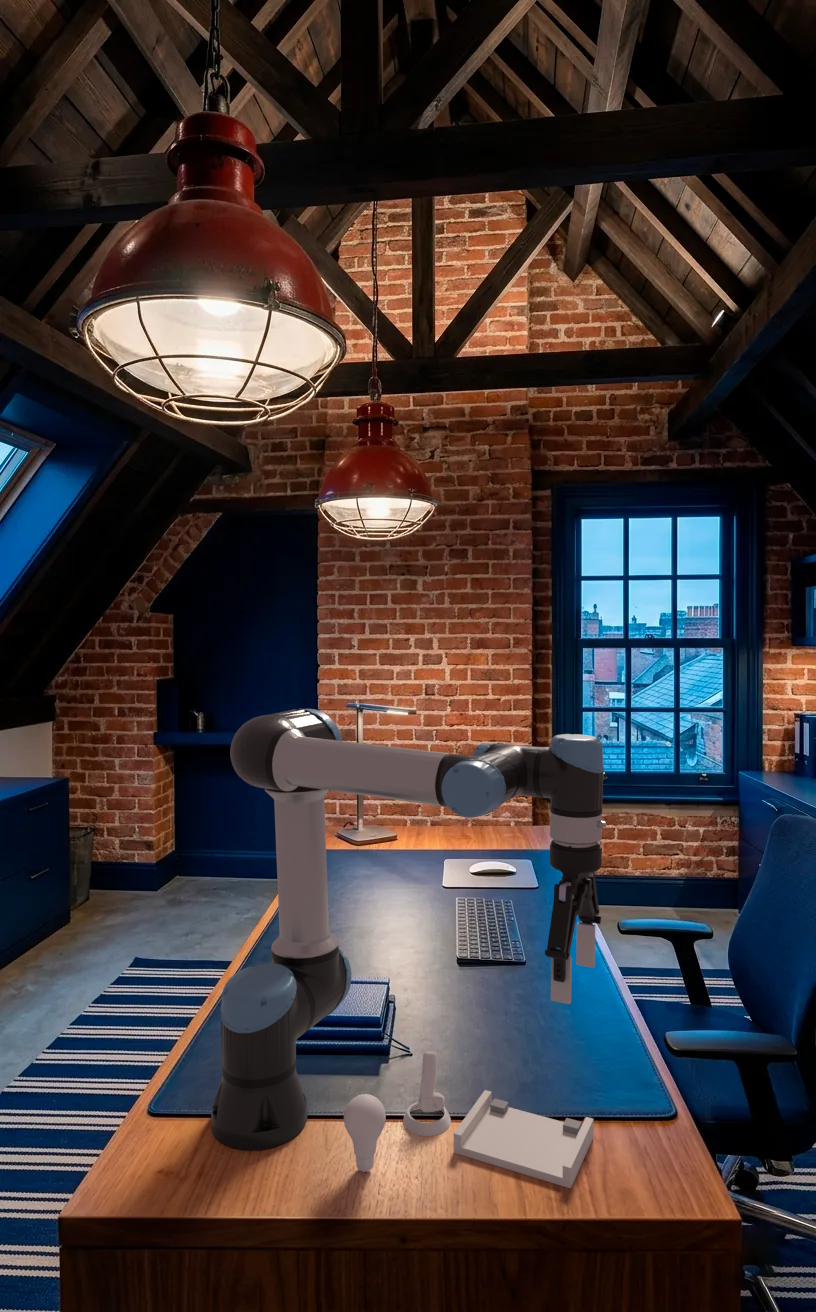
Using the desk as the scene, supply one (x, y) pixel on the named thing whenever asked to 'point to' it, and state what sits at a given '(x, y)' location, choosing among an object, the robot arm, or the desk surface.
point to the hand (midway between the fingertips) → (573, 982)
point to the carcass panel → (524, 1141)
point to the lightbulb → (364, 1127)
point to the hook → (428, 1102)
